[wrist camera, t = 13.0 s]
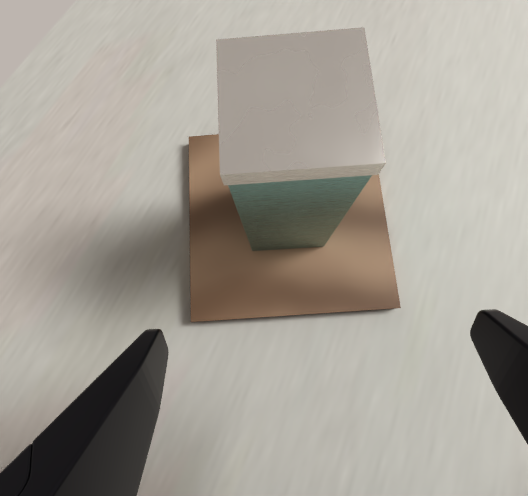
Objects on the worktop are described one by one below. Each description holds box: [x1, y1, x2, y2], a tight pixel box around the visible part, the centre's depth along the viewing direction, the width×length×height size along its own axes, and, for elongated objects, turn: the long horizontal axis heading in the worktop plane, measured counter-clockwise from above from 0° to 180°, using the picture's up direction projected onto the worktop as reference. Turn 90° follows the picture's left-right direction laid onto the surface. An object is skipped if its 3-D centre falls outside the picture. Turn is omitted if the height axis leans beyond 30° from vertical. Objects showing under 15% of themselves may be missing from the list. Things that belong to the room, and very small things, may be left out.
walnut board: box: [189, 134, 401, 322], centre depth 23 cm, size 14×14×2 cm
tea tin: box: [216, 28, 386, 251], centre depth 16 cm, size 5×5×12 cm
